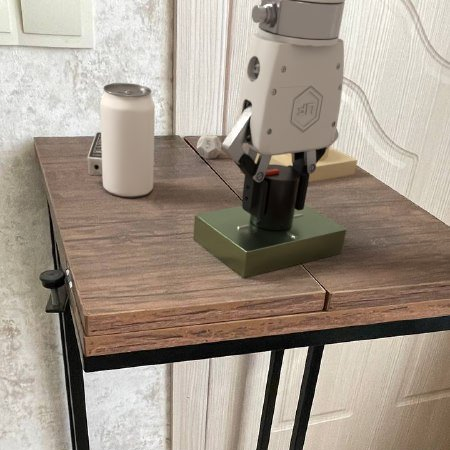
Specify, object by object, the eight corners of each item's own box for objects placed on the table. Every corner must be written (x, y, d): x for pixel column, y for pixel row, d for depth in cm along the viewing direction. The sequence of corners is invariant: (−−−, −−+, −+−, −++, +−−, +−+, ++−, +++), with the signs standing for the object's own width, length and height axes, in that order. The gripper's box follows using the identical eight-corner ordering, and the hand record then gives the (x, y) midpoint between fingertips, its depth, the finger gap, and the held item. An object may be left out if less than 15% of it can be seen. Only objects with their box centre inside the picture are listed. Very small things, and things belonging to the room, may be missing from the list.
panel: (287, 219, 79) (291, 195, 77) (341, 253, 72) (347, 227, 70) (193, 239, 72) (194, 212, 70) (243, 278, 66) (246, 250, 64)
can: (162, 187, 83) (165, 89, 75) (135, 202, 78) (135, 100, 71) (121, 175, 85) (120, 79, 77) (92, 189, 80) (88, 88, 73)
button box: (311, 153, 100) (315, 126, 97) (354, 174, 94) (360, 147, 91) (250, 161, 94) (253, 134, 91) (292, 185, 88) (296, 156, 85)
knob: (275, 209, 73) (282, 159, 69) (301, 226, 70) (310, 174, 66) (241, 216, 71) (247, 164, 67) (266, 233, 68) (274, 180, 64)
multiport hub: (126, 150, 93) (126, 134, 91) (121, 177, 85) (120, 159, 83) (96, 147, 93) (95, 131, 91) (87, 174, 84) (86, 157, 83)
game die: (222, 160, 93) (224, 140, 91) (198, 160, 92) (199, 139, 90) (217, 152, 96) (219, 132, 94) (193, 152, 95) (195, 131, 93)
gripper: (249, 29, 52) (228, 236, 63) (393, 27, 60) (351, 210, 71) (200, 12, 56) (189, 208, 68) (340, 12, 64) (309, 187, 76)
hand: (273, 207), depth 69 cm, fingers closed on knob, 4 cm apart
